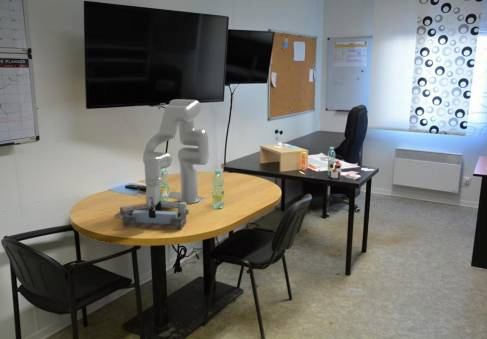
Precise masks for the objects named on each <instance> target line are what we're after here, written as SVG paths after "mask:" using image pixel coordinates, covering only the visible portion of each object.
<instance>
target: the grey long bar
mask: <svg viewBox="0 0 487 339" xmlns="http://www.w3.org/2000/svg"><path fill="white" fill-rule="evenodd" d="M151 204H152V203H151ZM162 208H163V209H165V208H166V209H177V212H186V215H188V214H189V213H190V211H189V210H190V207H188V204H186V202H176V201H174V202H173V201H168V200H161V209H162Z"/></svg>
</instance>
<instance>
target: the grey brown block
mask: <svg viewBox="0 0 487 339" xmlns="http://www.w3.org/2000/svg"><path fill="white" fill-rule="evenodd" d="M152 207H153V206H152ZM129 210H145V211H148V205H147V204H146V203H141V204H133V205H126V206H121V207H119V210H118V211H117V215H118V217H119V219H120V220H123V216H124V215H125V214H126V213H127V212H128V211H129Z"/></svg>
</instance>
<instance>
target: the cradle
mask: <svg viewBox="0 0 487 339" xmlns="http://www.w3.org/2000/svg"><path fill="white" fill-rule="evenodd" d="M133 211H134V210H129V211H128V212H127V213H126V214H125V215H124V216H123V219H122V225H123V226H122V227H123V228H137V229H138V228H139V229H156V230H157V229H158V230H160V229H161V230H178V231H181V230H183V228H184V226H185V225H186V223H187V214H186V212H179V211H177V212H178V218H177V217H171V218H170V224H160V223H137V222H135V216H132V212H133Z"/></svg>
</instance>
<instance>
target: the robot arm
mask: <svg viewBox="0 0 487 339" xmlns="http://www.w3.org/2000/svg"><path fill="white" fill-rule="evenodd" d="M168 104H169V105H168V106H166V107H165V109H164V111H163V115H162V118H161V121H160V125H159V129H158V132H157V133H155V134H154V135H153V136H152V137H151V138H150V139H149V140H148V142H147V143H146V145H145V148H144V151H143V156H142V161H143V164H144V179H145V181H144V182H145V185H146V190H145V200H146V201H145V202H146V203H145V204H147V205H148V211H149V218H156V214H155V211H163V210H162V208H161V201H162V188H161V185H162V170H163V169H166V168H169V167H170V166H171V165H172V163H173V158H172V155H171V154H170V153H168V152H159V151H155V150H156V148H157V147H158V146H159V145H161V144H163V143H166V142H168V141H170V140H172V139H174V138H175V137H176V133H177V130H178V131H179V142H180V144H182V146H185V147H182V148H179V150H178V152H177V159H178V162H179V170H180V175H179V176H180V197H178V203H181V202H186V204H187V205H188V204H189V205H190V204H196V203H199V202H200V201H201V197H200V196H198V170H197V168H196V166H205V165H207V163H208V162H209V155H210V152H209V135H208V133H207V131H206V130H205V129H202V128H195V118H196V117H198V116H199V114H200V113H201V111H202V110H201V109H202V106H201V103H200V101H198V100H197V99H185V98H184V99H182V98H181V99H178V98H176V99H172V100H170V101H169V103H168ZM189 146H190V147H189ZM151 203H152V204H151ZM152 206H153V207H152Z"/></svg>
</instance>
